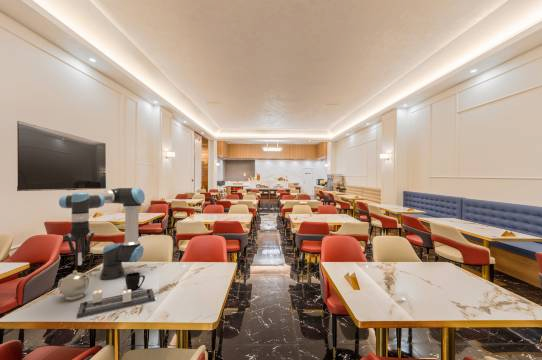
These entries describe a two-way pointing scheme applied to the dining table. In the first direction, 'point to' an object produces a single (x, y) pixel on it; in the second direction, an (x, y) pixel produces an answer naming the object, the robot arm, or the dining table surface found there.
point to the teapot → (73, 285)
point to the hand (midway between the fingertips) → (80, 264)
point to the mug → (133, 281)
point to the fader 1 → (97, 296)
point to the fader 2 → (126, 295)
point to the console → (114, 303)
